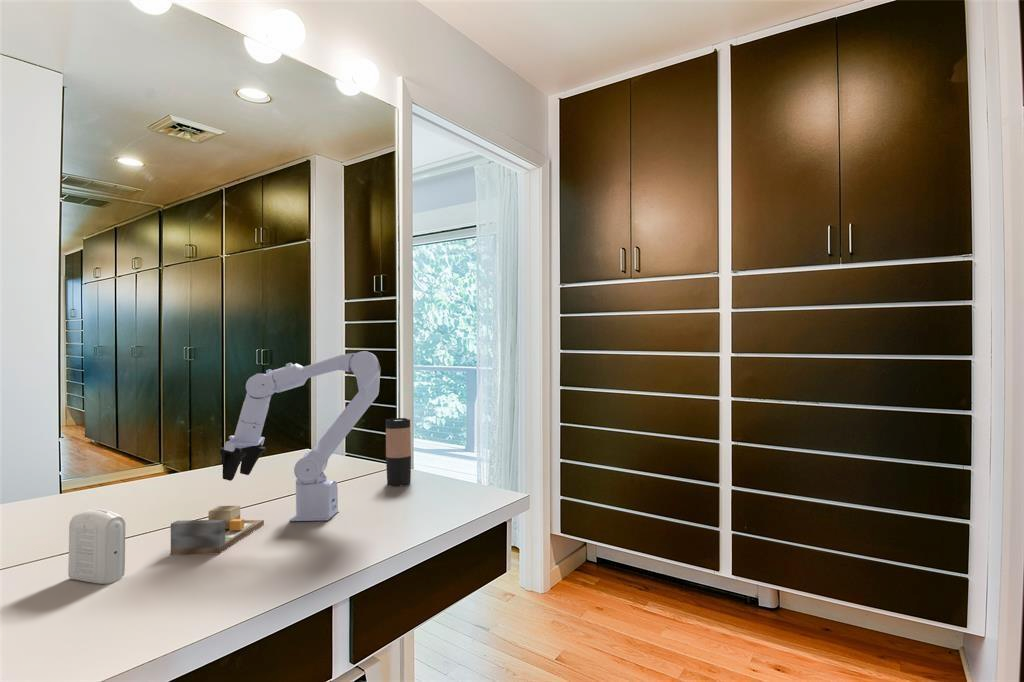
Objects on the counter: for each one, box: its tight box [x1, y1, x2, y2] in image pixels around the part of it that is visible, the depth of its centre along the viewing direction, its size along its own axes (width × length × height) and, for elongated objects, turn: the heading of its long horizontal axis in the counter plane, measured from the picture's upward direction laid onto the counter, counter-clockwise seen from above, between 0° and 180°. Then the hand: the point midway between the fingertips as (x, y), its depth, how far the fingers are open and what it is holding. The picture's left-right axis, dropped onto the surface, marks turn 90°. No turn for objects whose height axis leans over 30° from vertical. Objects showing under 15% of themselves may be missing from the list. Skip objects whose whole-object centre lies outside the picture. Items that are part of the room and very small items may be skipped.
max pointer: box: [230, 518, 245, 530], centre depth 114 cm, size 2×2×2 cm, turn 89°
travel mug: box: [385, 417, 412, 487], centre depth 161 cm, size 8×8×20 cm
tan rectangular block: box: [207, 505, 241, 529], centre depth 117 cm, size 8×4×4 cm, turn 89°
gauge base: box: [170, 519, 265, 555], centre depth 113 cm, size 10×18×6 cm, turn 179°
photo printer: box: [67, 508, 126, 585], centre depth 93 cm, size 10×4×12 cm, turn 73°
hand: (236, 476), depth 125 cm, fingers open, 7 cm apart
